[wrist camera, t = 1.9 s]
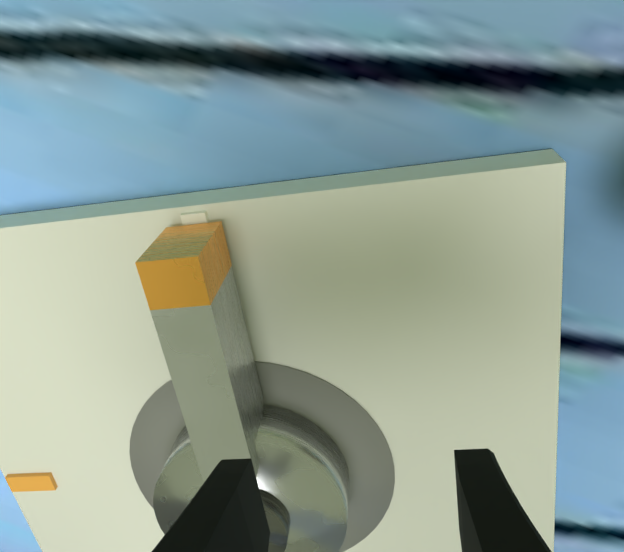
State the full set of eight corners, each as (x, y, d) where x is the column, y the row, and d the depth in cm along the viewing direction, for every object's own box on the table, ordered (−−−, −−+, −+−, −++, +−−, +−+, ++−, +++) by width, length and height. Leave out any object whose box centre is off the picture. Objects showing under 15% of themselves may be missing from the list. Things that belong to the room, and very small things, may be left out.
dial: (359, 537, 24) (357, 602, 21) (194, 540, 25) (173, 602, 22) (305, 210, 18) (292, 248, 15) (91, 234, 19) (46, 273, 16)
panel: (542, 617, 27) (551, 654, 26) (102, 615, 31) (87, 648, 29) (552, 149, 18) (567, 164, 16) (-83, 225, 21) (-119, 244, 20)
